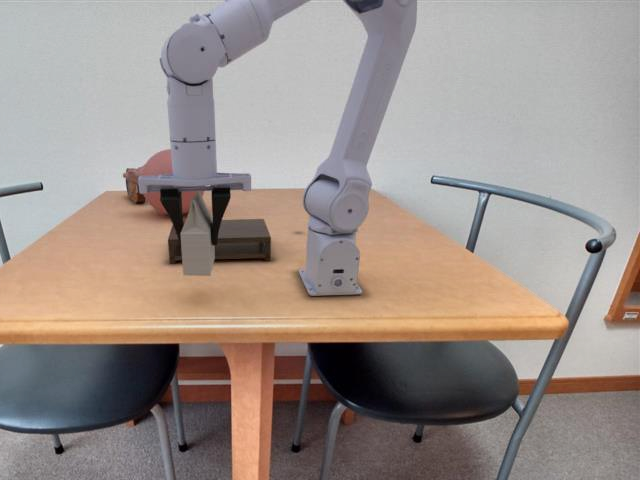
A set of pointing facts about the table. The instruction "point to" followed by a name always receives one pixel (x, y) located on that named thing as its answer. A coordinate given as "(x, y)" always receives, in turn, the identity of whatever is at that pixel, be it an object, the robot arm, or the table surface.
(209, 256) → the milk carton
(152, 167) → the balloon
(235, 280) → the table surface
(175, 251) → the dark brown low stand
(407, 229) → the table surface
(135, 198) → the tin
